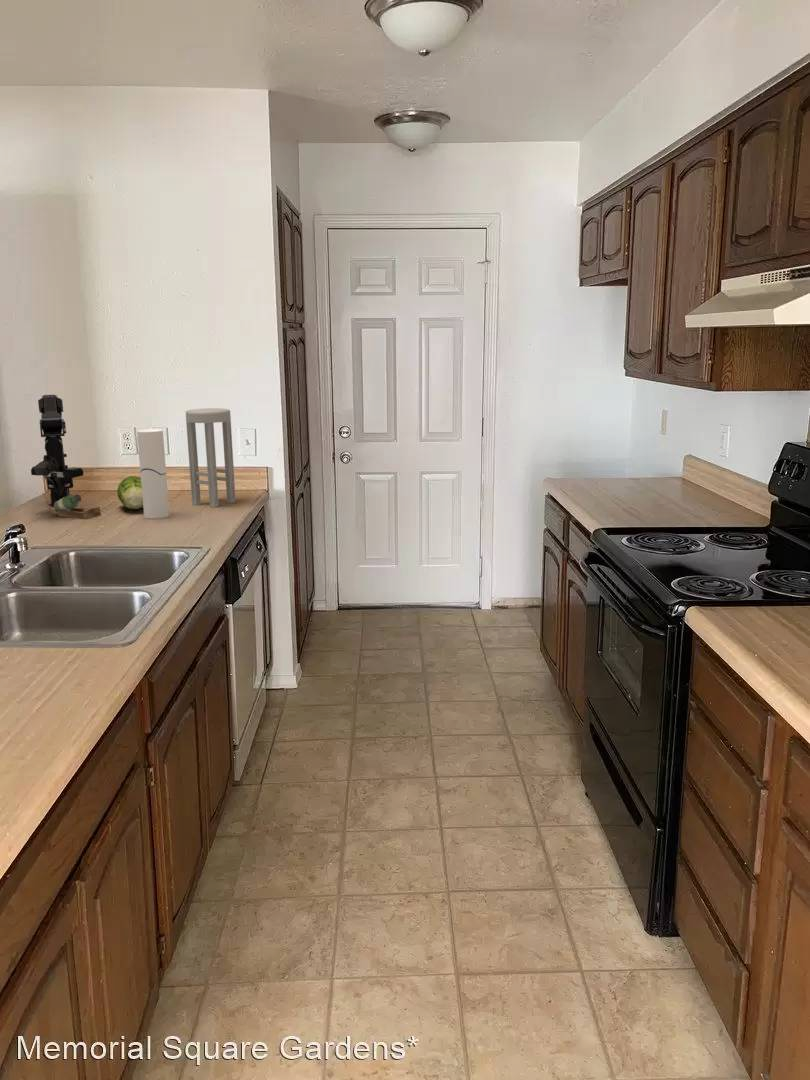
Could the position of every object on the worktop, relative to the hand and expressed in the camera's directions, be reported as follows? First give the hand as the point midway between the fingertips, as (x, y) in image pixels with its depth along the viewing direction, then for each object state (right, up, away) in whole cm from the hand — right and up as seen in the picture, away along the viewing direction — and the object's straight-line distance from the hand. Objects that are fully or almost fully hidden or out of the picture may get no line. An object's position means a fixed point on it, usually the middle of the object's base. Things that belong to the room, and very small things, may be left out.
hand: (59, 495), depth 297 cm
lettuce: (+24, -5, +9) cm, 26 cm away
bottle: (0, -4, +1) cm, 4 cm away
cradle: (+7, -7, -1) cm, 10 cm away
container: (+36, -8, -3) cm, 36 cm away
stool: (+51, -2, +18) cm, 54 cm away
